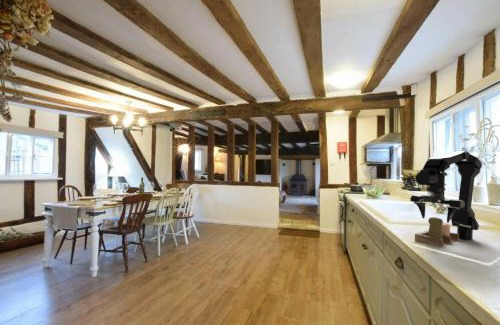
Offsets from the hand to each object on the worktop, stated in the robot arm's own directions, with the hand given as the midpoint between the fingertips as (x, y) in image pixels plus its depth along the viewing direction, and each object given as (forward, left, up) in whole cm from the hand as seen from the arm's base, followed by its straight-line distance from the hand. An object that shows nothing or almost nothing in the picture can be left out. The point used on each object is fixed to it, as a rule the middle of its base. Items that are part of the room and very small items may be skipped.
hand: (435, 220), depth 110 cm
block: (-10, 0, -10) cm, 14 cm away
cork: (0, 0, -10) cm, 10 cm away
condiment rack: (-5, -1, -11) cm, 12 cm away
